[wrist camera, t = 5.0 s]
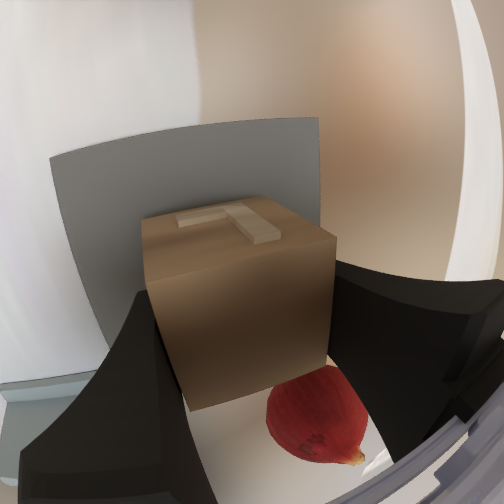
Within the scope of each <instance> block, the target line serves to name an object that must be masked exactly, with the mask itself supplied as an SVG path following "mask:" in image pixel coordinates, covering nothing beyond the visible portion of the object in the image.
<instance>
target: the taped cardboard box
mask: <svg viewBox="0 0 504 504" xmlns="http://www.w3.org/2000/svg"><path fill="white" fill-rule="evenodd" d="M141 232H142V250H143V264H144V276H145V284H146V288H147V291H148V295H149V298H150V301H151V305H152V308H153V311H154V314H155V318H156V321H157V324H158V327H159V330H160V333H161V336H162V339H163V342H164V345H165V348H166V351H167V353H168V356H169V359H170V362H171V364H172V367H173V370H174V373H175V375H176V378H177V380H178V383H179V386H180V388H181V391H182V393H183V396H184V398H185V400H186V403H187V405H188V408H189V410H190V412H191V411H195V410H199V409H203V408H206V407H210V406H214V405H217V404H221V403H224V402H227V401H231V400H234V399H237V398H240V397H243V396H246V395H249V394H252V393H255V392H258V391H261V390H264V389H267V388H270V387H272V386H275V385H278V384H281V383H284V382H286V381H289V380H292V379H294V378H297V377H299V376H302V375H304V374H307V373H309V372H312V371H314V370H316V369H319V368H321V367H324V366H326V358H327V351H328V342H329V334H330V324H331V314H332V303H333V291H334V278H335V262H336V242H337V237H336V236H334V235H332V234H330V233H329V232H327V231H326V230H324V229H322V228H321V227H319V226H317V225H315V224H314V223H312V222H310V221H308V220H307V219H305V218H303V217H301V216H300V215H298V214H296V213H294V212H293V211H291V210H289V209H287V208H285V207H284V206H282V205H280V204H278V203H276V202H275V201H273V200H271V199H269V198H267V197H266V196H259V197H253V198H248V199H242V200H236V201H231V202H225V203H220V204H215V205H209V206H204V207H199V208H194V209H189V210H184V211H179V212H175V213H170V214H165V215H160V216H156V217H151V218H147V219H142V220H141Z"/></svg>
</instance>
